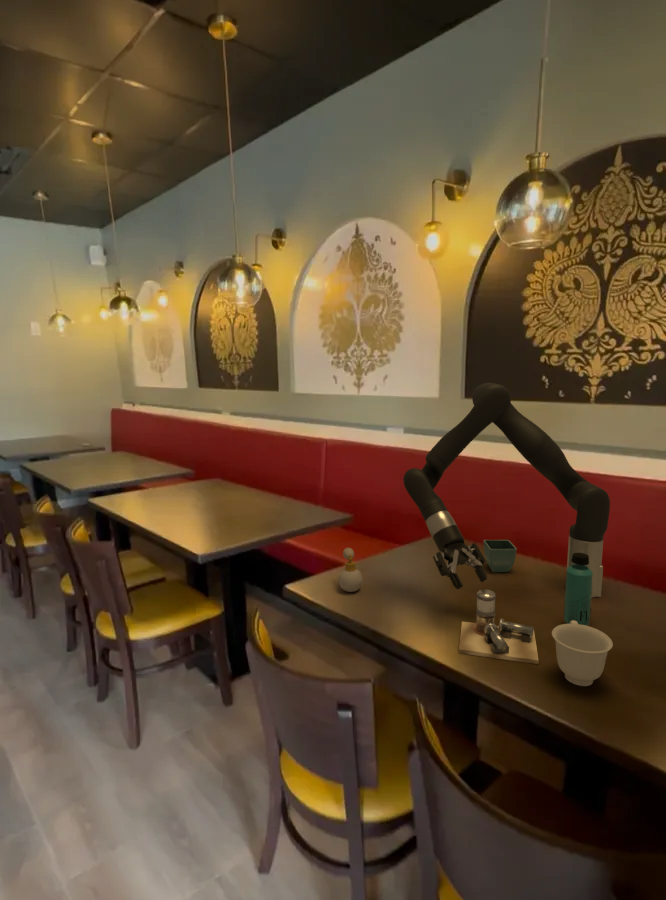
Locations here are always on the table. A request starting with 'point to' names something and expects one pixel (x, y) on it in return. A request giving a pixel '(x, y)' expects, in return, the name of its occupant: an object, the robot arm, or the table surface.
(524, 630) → the shaft
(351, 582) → the perfume bottle
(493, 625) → the shaft
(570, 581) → the beverage bottle
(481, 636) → the base board
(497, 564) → the flower pot
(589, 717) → the table surface
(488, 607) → the disc
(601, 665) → the teacup
